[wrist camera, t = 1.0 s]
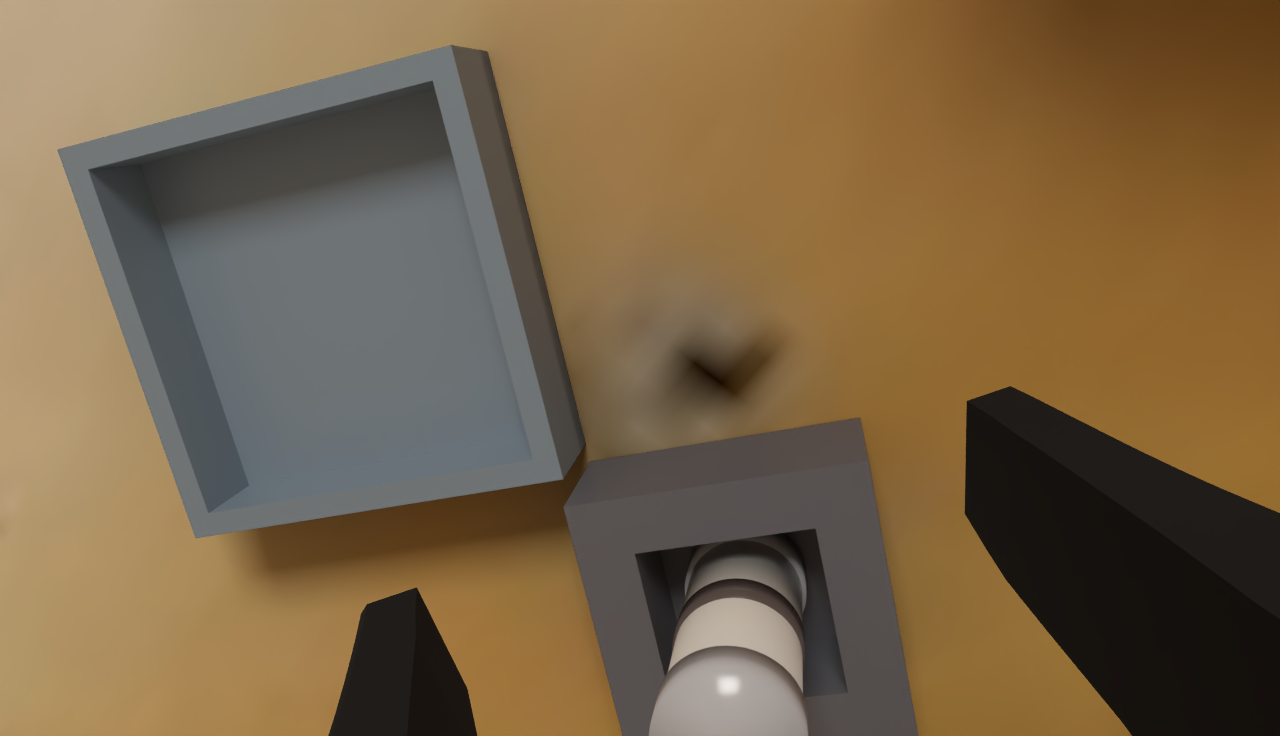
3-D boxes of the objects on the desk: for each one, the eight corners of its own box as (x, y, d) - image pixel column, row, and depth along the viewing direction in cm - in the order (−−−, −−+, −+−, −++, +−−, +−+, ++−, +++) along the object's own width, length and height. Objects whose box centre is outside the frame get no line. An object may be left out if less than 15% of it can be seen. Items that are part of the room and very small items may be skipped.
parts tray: (585, 443, 25) (563, 479, 23) (248, 500, 27) (195, 538, 25) (487, 51, 23) (450, 44, 20) (127, 145, 25) (57, 149, 23)
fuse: (815, 618, 25) (821, 806, 18) (702, 632, 25) (667, 819, 19) (794, 511, 24) (792, 666, 17) (678, 528, 25) (633, 683, 18)
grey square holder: (905, 667, 25) (919, 739, 22) (648, 695, 27) (630, 766, 24) (860, 417, 24) (868, 460, 21) (590, 461, 25) (563, 507, 22)
